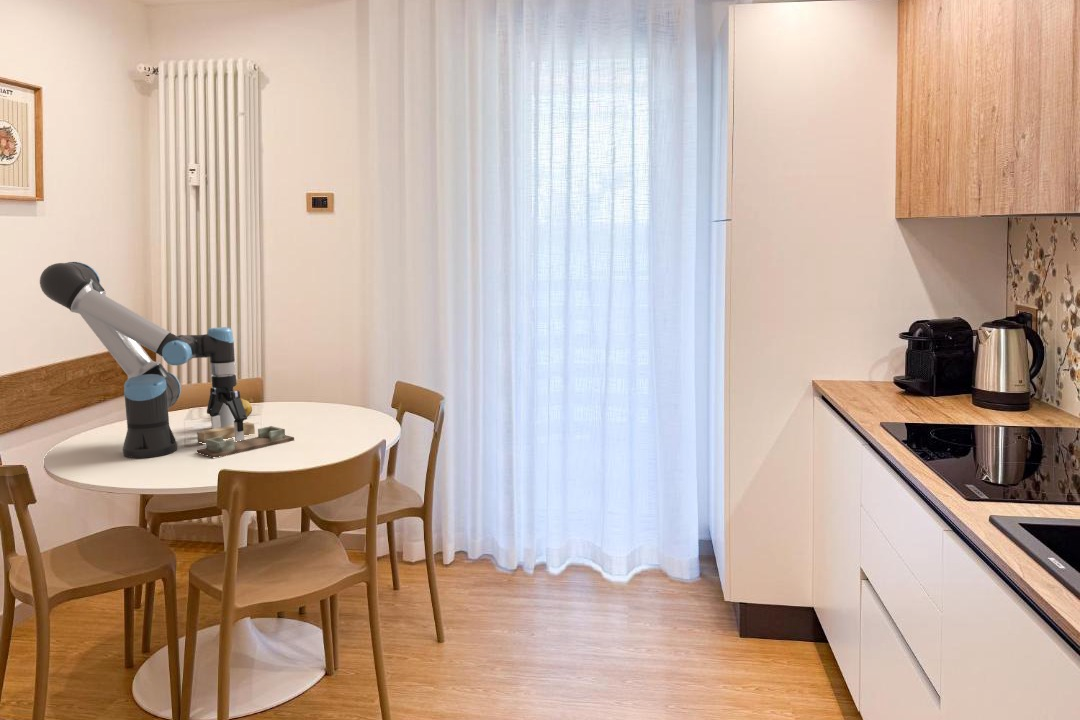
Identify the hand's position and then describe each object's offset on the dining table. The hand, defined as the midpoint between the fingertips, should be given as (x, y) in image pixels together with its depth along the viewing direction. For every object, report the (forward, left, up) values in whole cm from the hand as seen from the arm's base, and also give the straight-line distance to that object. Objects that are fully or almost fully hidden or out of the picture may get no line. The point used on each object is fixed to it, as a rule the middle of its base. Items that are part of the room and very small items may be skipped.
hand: (228, 438), depth 268 cm
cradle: (-2, -15, 0) cm, 15 cm away
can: (+8, +16, 0) cm, 18 cm away
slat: (0, 0, 0) cm, 1 cm away
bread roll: (+22, +30, 0) cm, 37 cm away
